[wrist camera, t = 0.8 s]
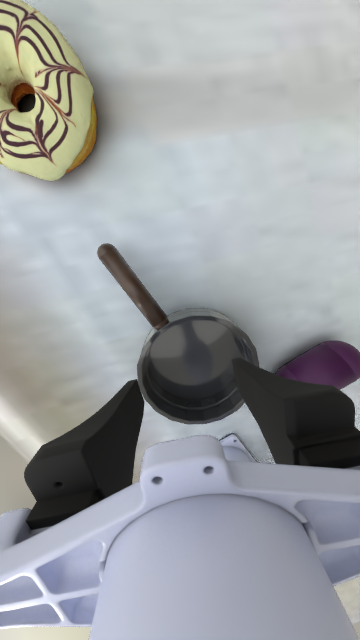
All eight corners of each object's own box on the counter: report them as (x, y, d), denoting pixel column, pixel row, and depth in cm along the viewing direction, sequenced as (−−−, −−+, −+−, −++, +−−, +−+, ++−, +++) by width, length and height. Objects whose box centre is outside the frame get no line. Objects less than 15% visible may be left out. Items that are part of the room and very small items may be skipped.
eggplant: (329, 327, 24) (369, 342, 19) (344, 356, 25) (385, 377, 20) (244, 378, 26) (261, 404, 21) (262, 404, 27) (282, 434, 22)
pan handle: (172, 320, 21) (172, 326, 19) (158, 330, 21) (157, 336, 19) (112, 240, 18) (105, 237, 17) (97, 252, 19) (89, 250, 17)
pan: (263, 367, 25) (279, 385, 21) (181, 417, 27) (183, 442, 23) (209, 285, 22) (217, 289, 18) (121, 347, 24) (111, 362, 20)
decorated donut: (78, 207, 20) (56, 193, 16) (-34, 145, 18) (-87, 114, 14) (119, 92, 17) (104, 45, 14) (-6, 8, 16) (-60, -70, 12)
